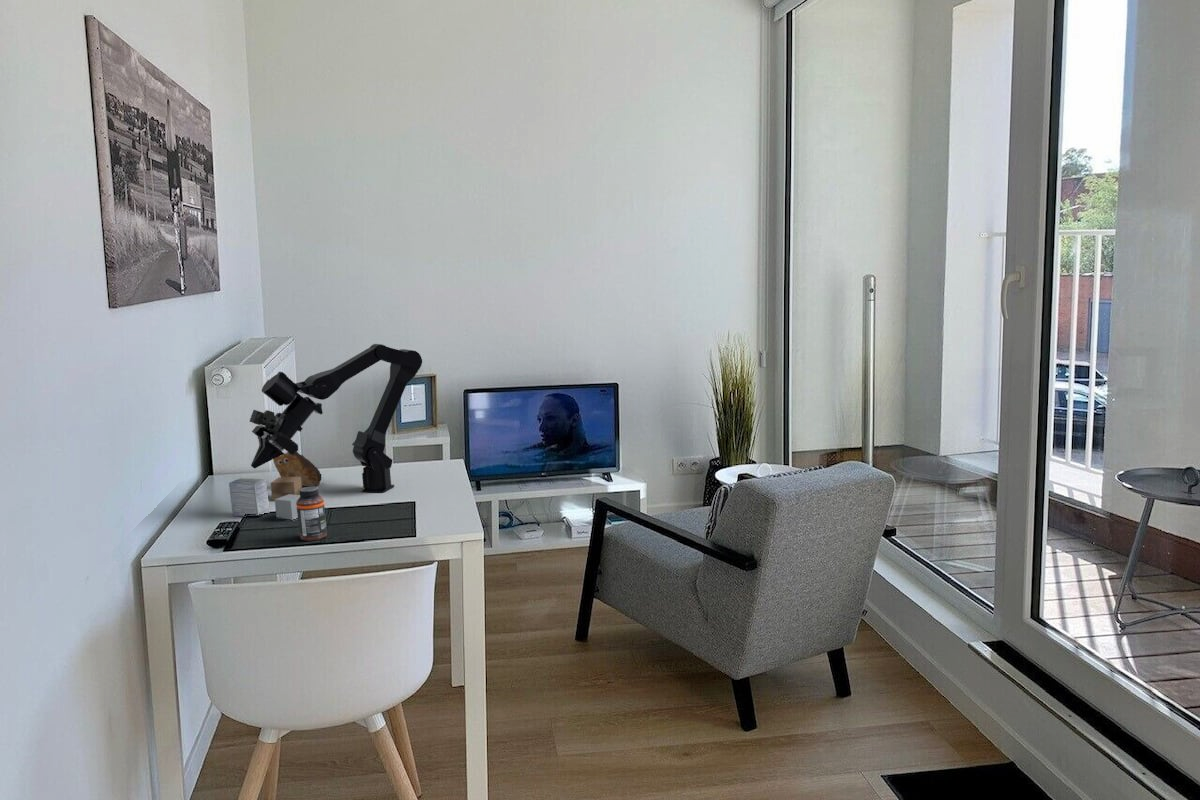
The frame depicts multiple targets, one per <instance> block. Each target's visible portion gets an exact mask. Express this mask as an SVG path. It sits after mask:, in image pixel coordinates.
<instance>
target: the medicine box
mask: <svg viewBox="0 0 1200 800" xmlns="http://www.w3.org/2000/svg"><path fill="white" fill-rule="evenodd" d="M228 487H229V495H230V496H229V497H230V504H231V513H232V516H233V517H244V516H243V515H245V514H256V515H259V514H264V513H268V514H270V513H271V512H270V511H271V510H270V504H269V497H268V487H267V479H264V478H242V477H241V478H237V479H234V480H232V481H230V482H228Z"/></svg>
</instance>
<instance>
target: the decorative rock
mask: <svg viewBox="0 0 1200 800" xmlns="http://www.w3.org/2000/svg"><path fill="white" fill-rule="evenodd" d="M272 460H273V464H274V467H275V469H276V470H277V472H278V473H279V476H280V477H301V483H302V487H318V486H319V485H320V483H321V481H322V473H321V472H320V470H319V468H318V467H317V466H315V464H314V463H312V461H311V460H309V459H308V458H306V457H305V456H304V455H303V454H300V453H299V451H297V452H296V454H295V455H294V456H292V455H290V454H289V453H288V451H286V452H284V455H281V456H279V457H276V458H274V459H272Z"/></svg>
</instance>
